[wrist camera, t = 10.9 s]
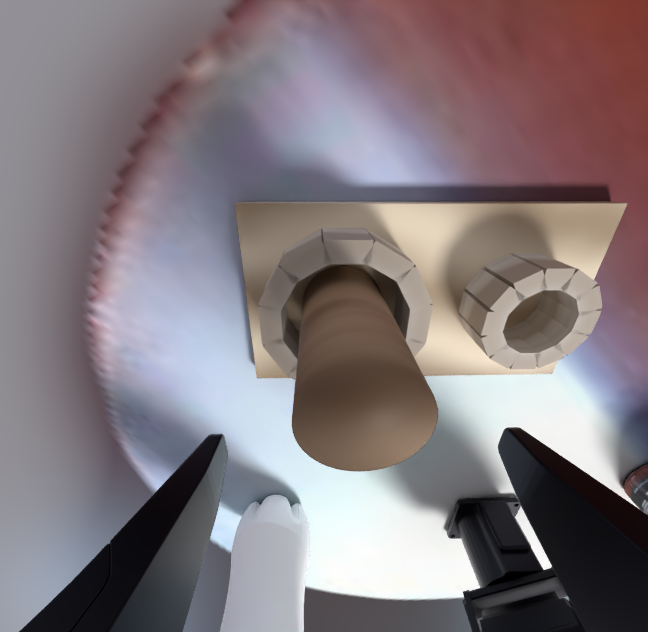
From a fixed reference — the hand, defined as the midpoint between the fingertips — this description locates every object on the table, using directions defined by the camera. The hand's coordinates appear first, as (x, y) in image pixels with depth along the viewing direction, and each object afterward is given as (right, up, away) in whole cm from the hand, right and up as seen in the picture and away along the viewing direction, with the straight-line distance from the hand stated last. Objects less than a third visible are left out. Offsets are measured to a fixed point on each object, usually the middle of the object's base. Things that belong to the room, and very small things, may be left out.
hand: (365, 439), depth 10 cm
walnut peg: (0, +5, +10) cm, 11 cm away
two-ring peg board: (+5, +5, +11) cm, 13 cm away
